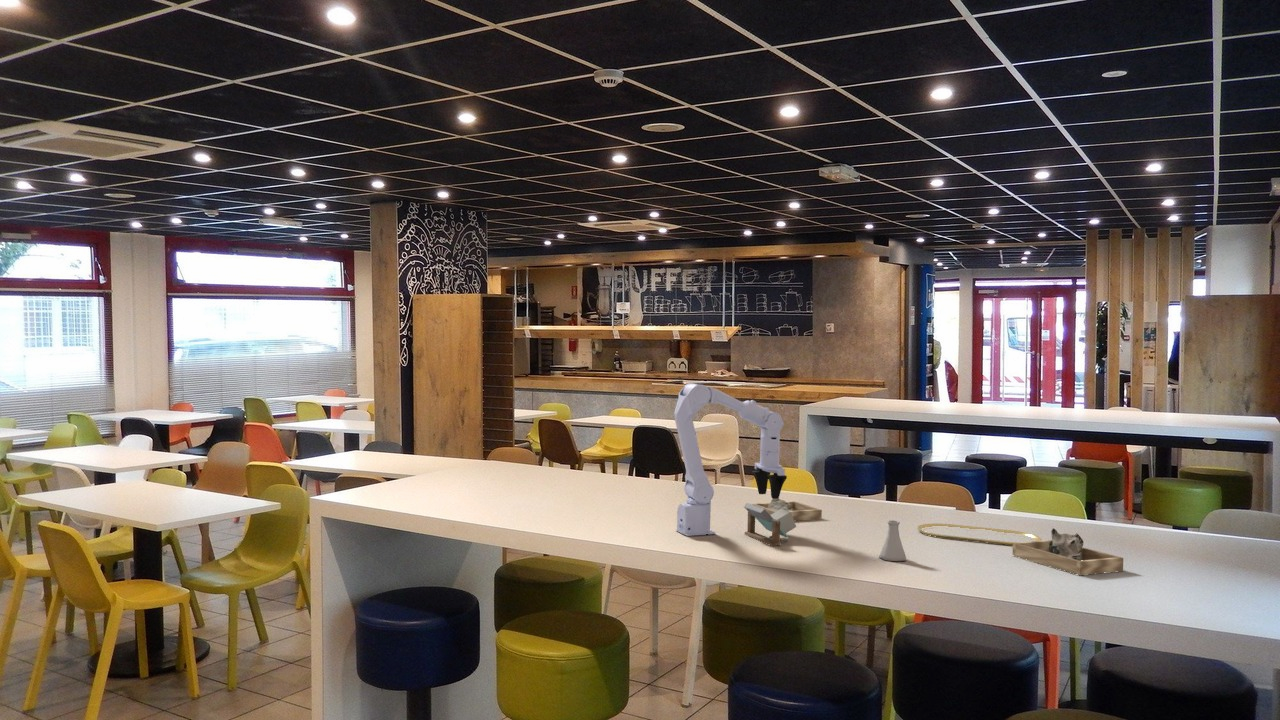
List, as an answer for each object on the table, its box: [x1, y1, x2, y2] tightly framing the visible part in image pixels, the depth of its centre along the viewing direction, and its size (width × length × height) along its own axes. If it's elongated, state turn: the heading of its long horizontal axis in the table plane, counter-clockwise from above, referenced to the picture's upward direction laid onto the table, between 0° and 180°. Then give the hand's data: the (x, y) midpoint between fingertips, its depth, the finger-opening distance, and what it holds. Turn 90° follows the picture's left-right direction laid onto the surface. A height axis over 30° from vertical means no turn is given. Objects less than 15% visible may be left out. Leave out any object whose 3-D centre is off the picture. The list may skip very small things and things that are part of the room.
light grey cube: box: [770, 509, 797, 534], centre depth 258 cm, size 5×5×5 cm
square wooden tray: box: [751, 501, 823, 522], centre depth 293 cm, size 17×16×3 cm
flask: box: [878, 519, 907, 562], centre depth 236 cm, size 7×7×10 cm
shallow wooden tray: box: [1011, 539, 1124, 576], centre depth 235 cm, size 15×22×4 cm
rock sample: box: [768, 497, 793, 511], centre depth 292 cm, size 10×8×9 cm
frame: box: [744, 511, 782, 547], centre depth 255 cm, size 3×17×7 cm, turn 22°
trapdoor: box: [743, 502, 789, 539], centre depth 256 cm, size 11×12×2 cm
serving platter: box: [917, 523, 1043, 546], centre depth 267 cm, size 19×35×2 cm, turn 65°
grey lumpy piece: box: [1049, 528, 1084, 561], centre depth 235 cm, size 16×9×10 cm, turn 160°
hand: (768, 496), depth 268 cm, fingers open, 7 cm apart
